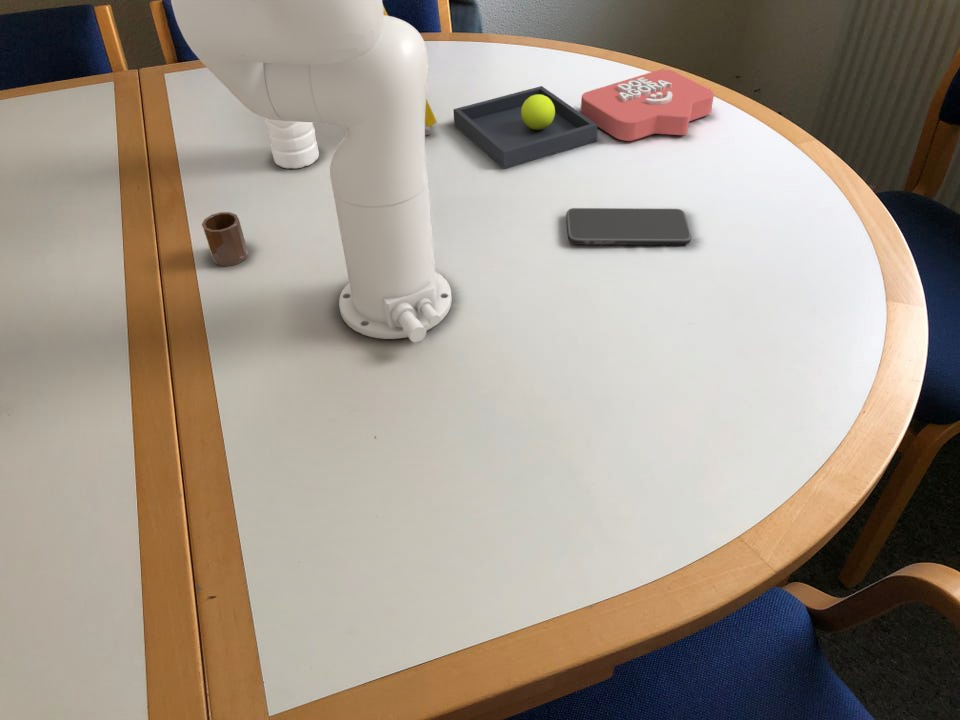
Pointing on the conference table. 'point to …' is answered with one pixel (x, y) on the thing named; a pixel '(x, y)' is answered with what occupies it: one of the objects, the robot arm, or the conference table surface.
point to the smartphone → (627, 226)
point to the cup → (225, 238)
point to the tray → (522, 128)
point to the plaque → (647, 105)
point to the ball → (538, 112)
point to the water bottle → (292, 143)
